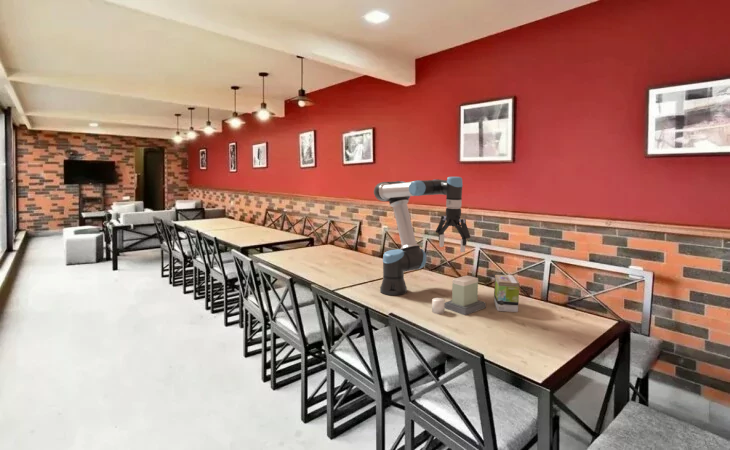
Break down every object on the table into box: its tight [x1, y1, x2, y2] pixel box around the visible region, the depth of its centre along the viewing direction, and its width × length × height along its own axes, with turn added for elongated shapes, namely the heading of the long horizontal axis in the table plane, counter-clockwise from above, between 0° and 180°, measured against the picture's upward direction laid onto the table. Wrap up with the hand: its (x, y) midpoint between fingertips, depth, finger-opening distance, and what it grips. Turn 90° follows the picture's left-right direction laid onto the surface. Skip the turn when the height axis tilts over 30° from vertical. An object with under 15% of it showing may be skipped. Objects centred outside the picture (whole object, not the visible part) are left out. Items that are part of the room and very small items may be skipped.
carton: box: [451, 275, 479, 306], centre depth 197 cm, size 7×11×12 cm, turn 128°
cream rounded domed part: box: [431, 297, 446, 315], centre depth 193 cm, size 6×6×6 cm
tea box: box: [493, 274, 520, 313], centre depth 198 cm, size 15×10×15 cm, turn 168°
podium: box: [445, 299, 486, 316], centre depth 198 cm, size 13×16×3 cm
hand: (451, 249), depth 202 cm, fingers open, 13 cm apart
